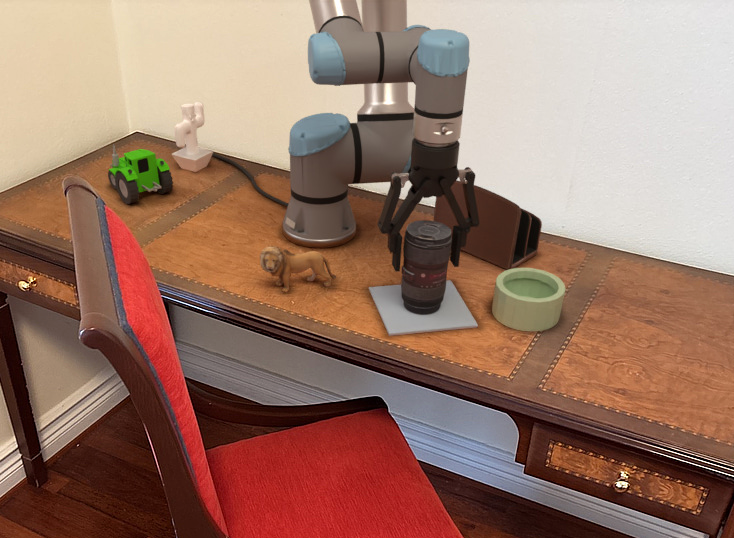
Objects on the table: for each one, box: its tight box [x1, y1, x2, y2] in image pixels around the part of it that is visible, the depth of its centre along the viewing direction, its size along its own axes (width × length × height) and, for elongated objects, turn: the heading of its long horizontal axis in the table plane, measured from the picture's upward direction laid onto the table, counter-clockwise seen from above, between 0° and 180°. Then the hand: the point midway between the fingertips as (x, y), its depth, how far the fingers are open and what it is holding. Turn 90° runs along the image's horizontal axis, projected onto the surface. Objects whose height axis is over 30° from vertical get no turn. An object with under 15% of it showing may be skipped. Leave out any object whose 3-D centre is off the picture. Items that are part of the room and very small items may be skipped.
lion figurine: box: [259, 245, 337, 293], centre depth 147 cm, size 15×5×9 cm, turn 114°
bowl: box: [491, 267, 567, 332], centre depth 142 cm, size 12×12×6 cm
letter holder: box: [432, 179, 543, 271], centre depth 160 cm, size 10×20×14 cm, turn 47°
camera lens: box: [400, 219, 452, 315], centre depth 139 cm, size 8×8×15 cm
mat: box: [368, 279, 479, 337], centre depth 144 cm, size 16×16×1 cm
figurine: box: [170, 101, 215, 173], centre depth 188 cm, size 7×9×15 cm
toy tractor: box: [107, 143, 174, 205], centre depth 178 cm, size 11×16×10 cm
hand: (425, 265), depth 139 cm, fingers open, 10 cm apart
